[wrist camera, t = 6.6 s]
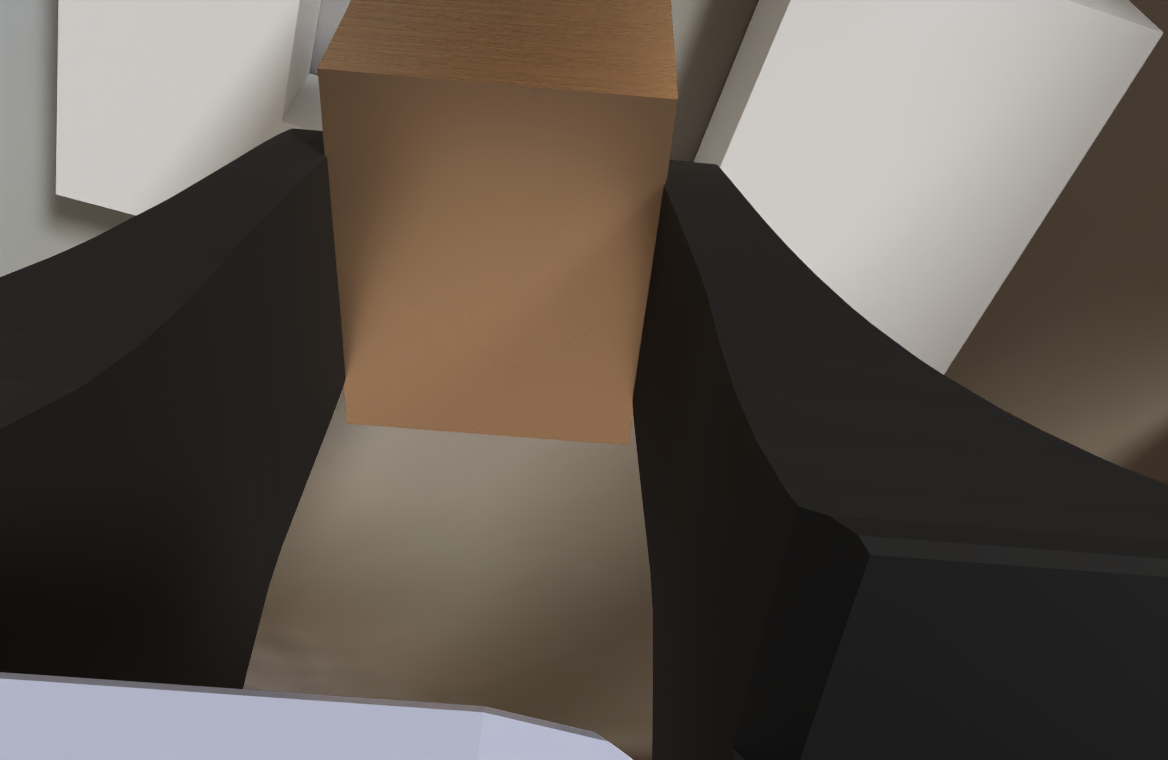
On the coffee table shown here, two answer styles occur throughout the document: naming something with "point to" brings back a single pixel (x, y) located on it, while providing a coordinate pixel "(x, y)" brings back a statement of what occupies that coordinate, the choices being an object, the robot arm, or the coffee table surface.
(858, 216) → the board
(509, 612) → the coffee table surface
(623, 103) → the block
